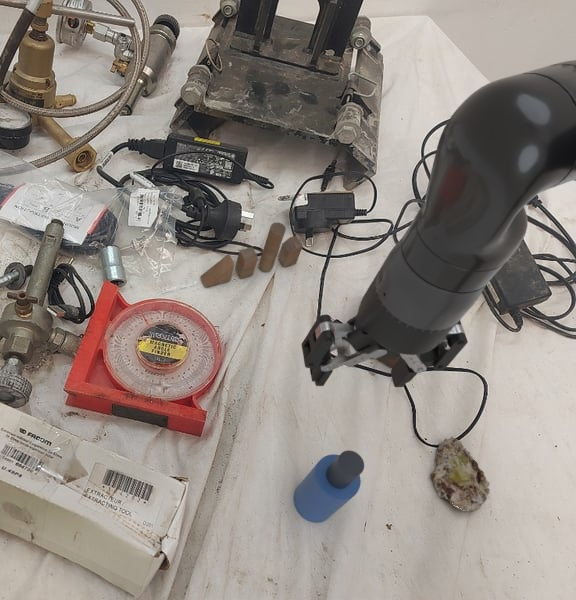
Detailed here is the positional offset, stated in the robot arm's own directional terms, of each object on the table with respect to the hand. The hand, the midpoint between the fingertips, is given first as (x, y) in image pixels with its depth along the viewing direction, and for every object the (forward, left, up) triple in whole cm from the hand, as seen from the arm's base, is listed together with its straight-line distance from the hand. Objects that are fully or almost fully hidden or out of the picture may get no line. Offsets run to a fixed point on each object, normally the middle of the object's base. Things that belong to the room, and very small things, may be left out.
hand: (356, 378), depth 61 cm
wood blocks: (+32, -9, -26) cm, 43 cm away
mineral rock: (-13, -20, -26) cm, 35 cm away
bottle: (-6, +1, -26) cm, 27 cm away
